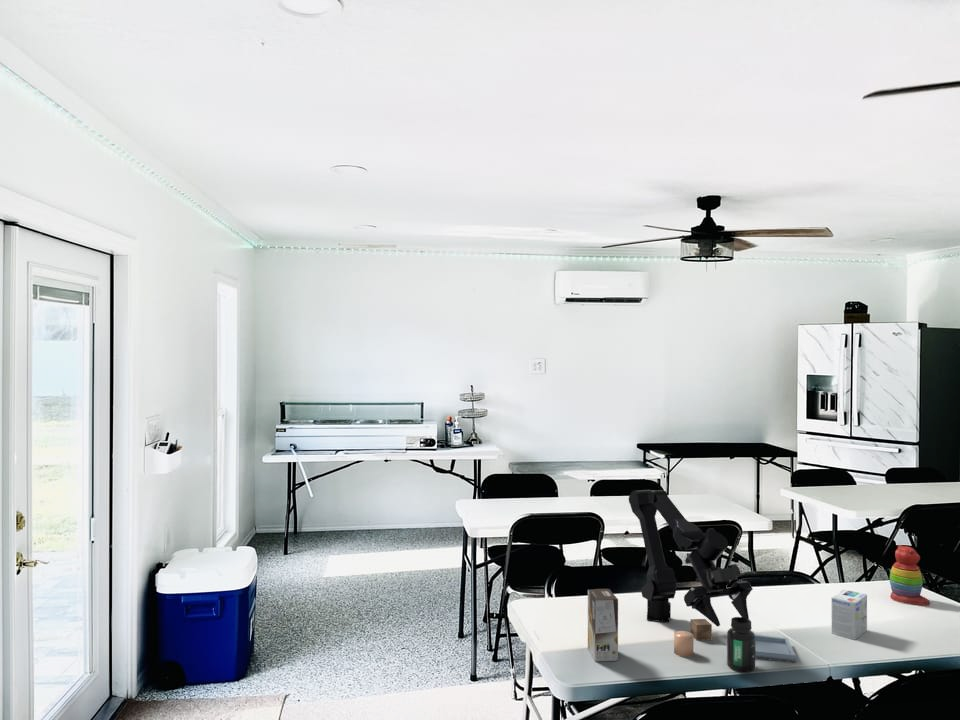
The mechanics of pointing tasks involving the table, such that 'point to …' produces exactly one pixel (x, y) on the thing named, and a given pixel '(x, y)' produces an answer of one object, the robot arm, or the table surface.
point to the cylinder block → (683, 643)
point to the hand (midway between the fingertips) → (733, 623)
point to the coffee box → (603, 625)
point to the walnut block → (701, 629)
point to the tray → (774, 648)
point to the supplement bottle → (741, 645)
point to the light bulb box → (849, 614)
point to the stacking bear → (907, 577)
